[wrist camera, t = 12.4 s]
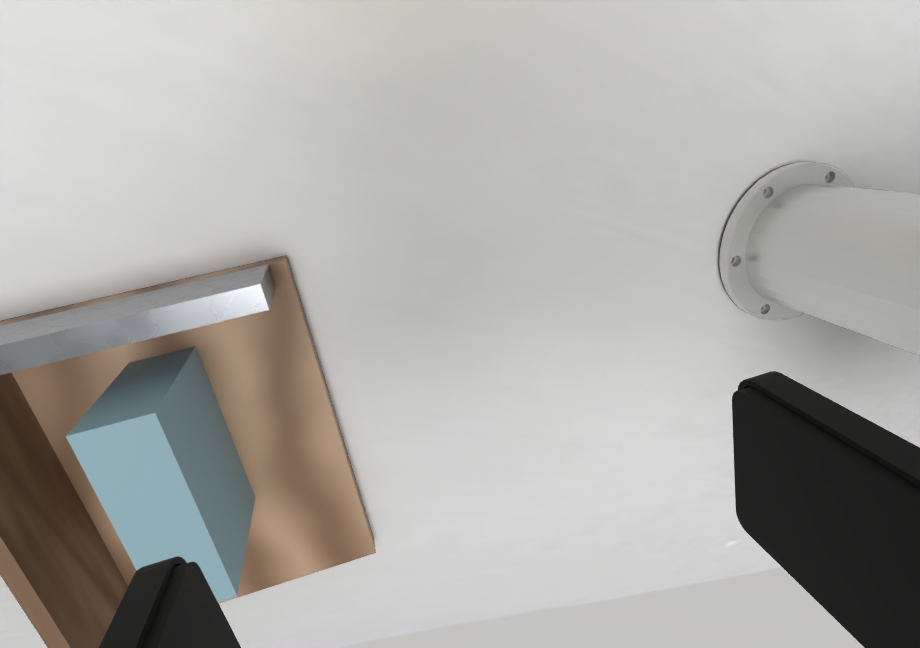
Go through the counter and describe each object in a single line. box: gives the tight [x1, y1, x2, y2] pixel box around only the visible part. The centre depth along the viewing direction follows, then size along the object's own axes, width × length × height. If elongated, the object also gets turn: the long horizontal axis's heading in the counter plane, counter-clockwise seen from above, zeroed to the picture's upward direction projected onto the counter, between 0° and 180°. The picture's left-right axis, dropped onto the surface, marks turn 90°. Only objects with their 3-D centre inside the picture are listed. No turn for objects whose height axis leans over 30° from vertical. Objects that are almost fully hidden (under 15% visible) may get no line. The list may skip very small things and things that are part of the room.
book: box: [66, 346, 255, 602], centre depth 32 cm, size 4×12×9 cm, turn 11°
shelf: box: [0, 255, 376, 648], centre depth 34 cm, size 18×24×8 cm
